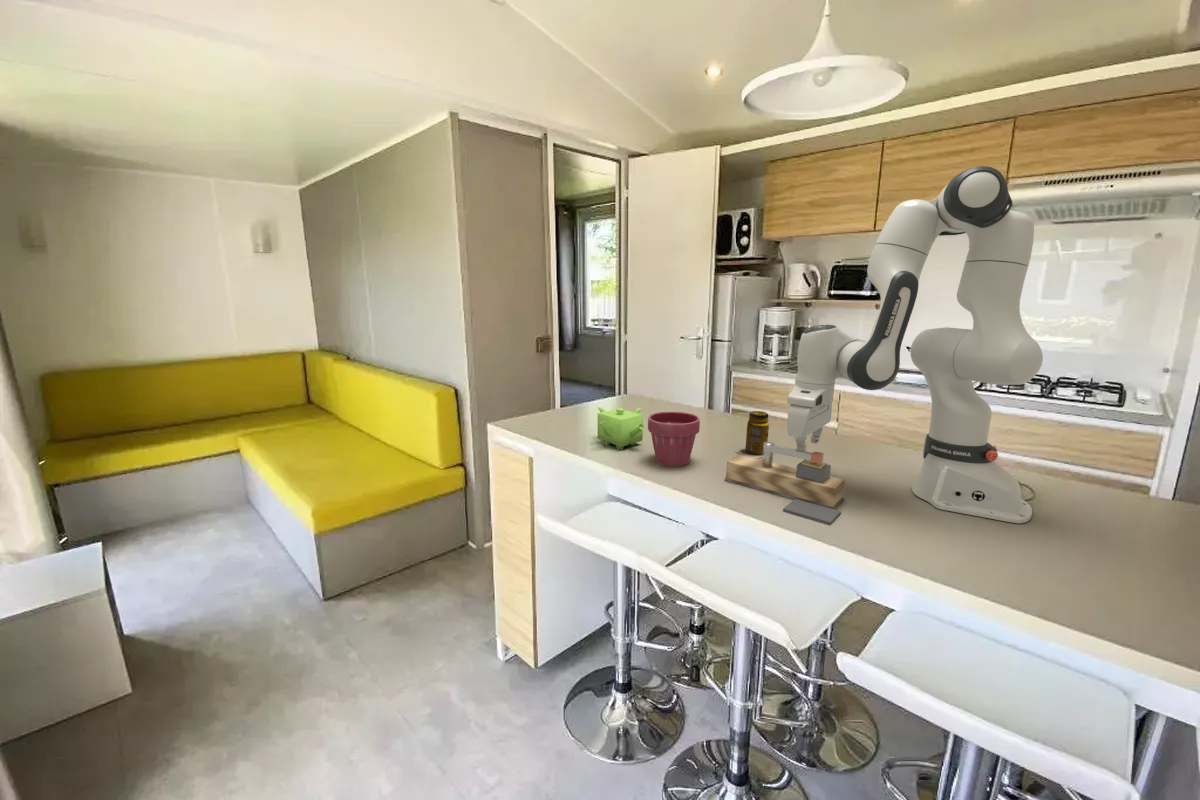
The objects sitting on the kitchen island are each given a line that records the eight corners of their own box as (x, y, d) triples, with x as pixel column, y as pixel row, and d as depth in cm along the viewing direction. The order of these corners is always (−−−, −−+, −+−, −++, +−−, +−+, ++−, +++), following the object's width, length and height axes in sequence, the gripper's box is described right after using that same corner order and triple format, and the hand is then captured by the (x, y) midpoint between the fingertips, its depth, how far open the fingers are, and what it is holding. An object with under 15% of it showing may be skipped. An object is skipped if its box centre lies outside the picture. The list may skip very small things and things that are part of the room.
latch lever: (821, 477, 120) (823, 453, 118) (817, 480, 118) (820, 455, 117) (764, 463, 128) (766, 441, 127) (760, 466, 127) (762, 443, 125)
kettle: (597, 436, 167) (597, 402, 165) (640, 437, 167) (641, 403, 165) (596, 451, 153) (596, 414, 150) (644, 452, 153) (645, 415, 150)
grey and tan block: (829, 477, 120) (831, 463, 119) (822, 483, 116) (824, 469, 115) (803, 471, 124) (805, 457, 123) (795, 477, 120) (797, 462, 119)
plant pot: (655, 450, 154) (656, 408, 151) (702, 456, 149) (704, 413, 146) (640, 466, 141) (641, 420, 138) (691, 473, 136) (693, 426, 133)
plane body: (843, 499, 120) (846, 479, 119) (833, 510, 114) (835, 489, 113) (738, 472, 137) (739, 454, 135) (724, 480, 131) (725, 461, 130)
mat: (840, 513, 113) (840, 511, 112) (830, 525, 107) (830, 522, 107) (794, 501, 119) (795, 498, 119) (782, 511, 114) (783, 508, 114)
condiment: (772, 452, 152) (775, 413, 150) (757, 459, 147) (760, 418, 144) (750, 446, 158) (753, 408, 155) (735, 453, 152) (737, 413, 149)
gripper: (815, 384, 135) (810, 435, 138) (784, 397, 120) (779, 454, 123) (840, 387, 131) (835, 440, 134) (812, 401, 116) (806, 460, 119)
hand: (808, 447), depth 128 cm, fingers open, 8 cm apart
